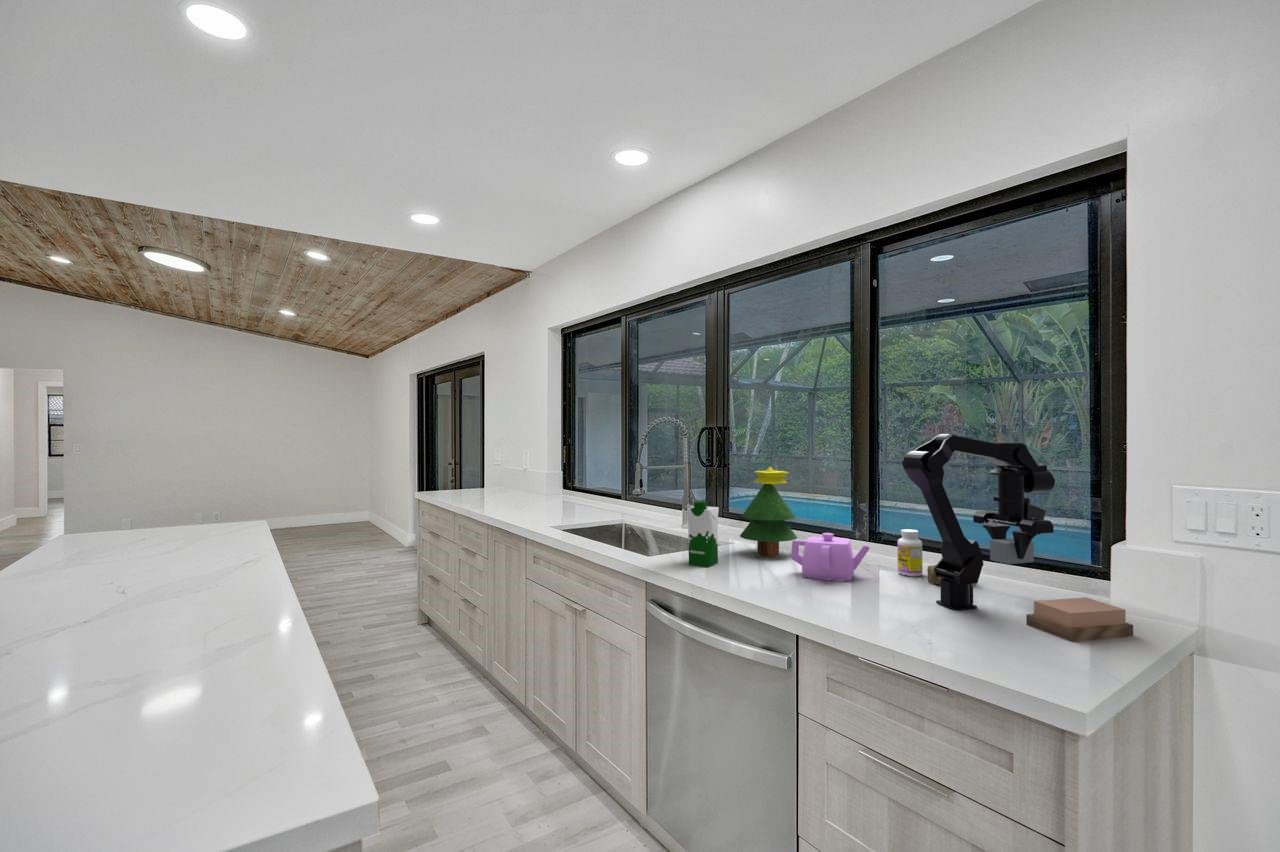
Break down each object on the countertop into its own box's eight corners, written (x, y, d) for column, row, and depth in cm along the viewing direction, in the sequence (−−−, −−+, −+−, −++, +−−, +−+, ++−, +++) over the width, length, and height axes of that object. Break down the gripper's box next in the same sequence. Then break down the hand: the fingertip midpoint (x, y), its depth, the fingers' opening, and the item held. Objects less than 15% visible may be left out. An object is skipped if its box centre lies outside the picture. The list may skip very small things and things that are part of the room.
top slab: (1070, 628, 121) (1070, 613, 121) (1034, 614, 129) (1034, 600, 129) (1125, 624, 123) (1125, 609, 123) (1086, 611, 132) (1085, 597, 132)
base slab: (1073, 645, 119) (1072, 630, 119) (1026, 628, 130) (1026, 614, 130) (1133, 639, 122) (1133, 624, 122) (1083, 622, 133) (1082, 609, 133)
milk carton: (684, 565, 189) (684, 501, 189) (697, 559, 197) (697, 498, 197) (709, 568, 184) (709, 503, 184) (722, 562, 192) (721, 500, 192)
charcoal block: (1007, 564, 144) (1007, 543, 144) (990, 559, 149) (989, 539, 149) (1033, 562, 146) (1033, 541, 146) (1015, 557, 151) (1015, 538, 151)
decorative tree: (730, 551, 210) (729, 465, 211) (778, 547, 216) (777, 464, 216) (756, 562, 192) (756, 469, 192) (808, 558, 198) (808, 467, 198)
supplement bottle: (893, 571, 178) (892, 528, 178) (914, 571, 179) (914, 528, 179) (905, 577, 172) (904, 532, 172) (927, 576, 172) (926, 532, 172)
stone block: (976, 585, 163) (975, 566, 163) (939, 587, 161) (938, 569, 161) (960, 579, 169) (960, 562, 169) (924, 582, 167) (924, 564, 167)
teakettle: (786, 572, 179) (786, 531, 179) (831, 566, 186) (830, 526, 186) (825, 585, 163) (825, 540, 163) (872, 579, 170) (872, 535, 170)
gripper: (1072, 496, 140) (1073, 563, 140) (1007, 488, 158) (1007, 547, 158) (1033, 497, 138) (1034, 565, 138) (971, 490, 156) (972, 550, 156)
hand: (1011, 556), depth 147 cm, fingers closed on charcoal block, 5 cm apart
